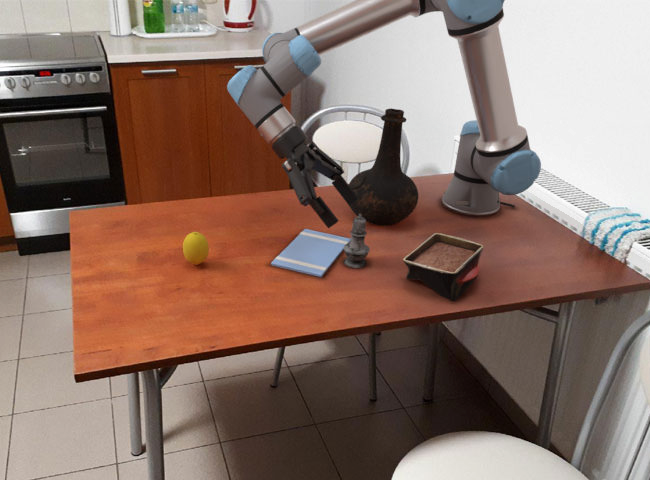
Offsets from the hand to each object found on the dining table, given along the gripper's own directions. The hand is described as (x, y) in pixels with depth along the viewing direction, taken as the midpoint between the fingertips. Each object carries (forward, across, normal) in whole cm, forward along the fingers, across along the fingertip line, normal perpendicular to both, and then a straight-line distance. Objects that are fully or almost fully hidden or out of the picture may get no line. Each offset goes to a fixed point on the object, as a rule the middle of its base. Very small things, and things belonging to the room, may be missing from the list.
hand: (344, 213), depth 139 cm
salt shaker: (+11, 0, -6) cm, 12 cm away
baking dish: (+24, 0, +8) cm, 26 cm away
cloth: (+3, 0, -13) cm, 13 cm away
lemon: (-11, +17, -28) cm, 34 cm away
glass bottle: (+9, -26, -7) cm, 28 cm away
